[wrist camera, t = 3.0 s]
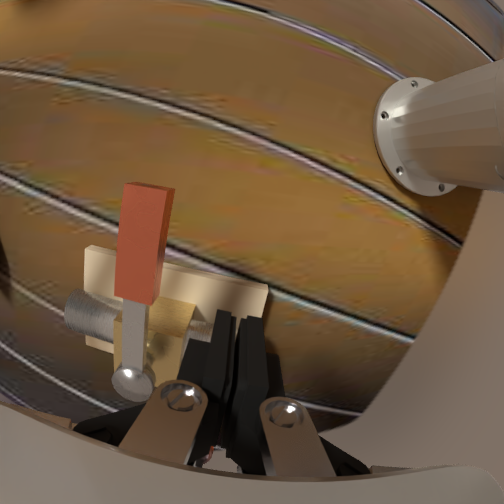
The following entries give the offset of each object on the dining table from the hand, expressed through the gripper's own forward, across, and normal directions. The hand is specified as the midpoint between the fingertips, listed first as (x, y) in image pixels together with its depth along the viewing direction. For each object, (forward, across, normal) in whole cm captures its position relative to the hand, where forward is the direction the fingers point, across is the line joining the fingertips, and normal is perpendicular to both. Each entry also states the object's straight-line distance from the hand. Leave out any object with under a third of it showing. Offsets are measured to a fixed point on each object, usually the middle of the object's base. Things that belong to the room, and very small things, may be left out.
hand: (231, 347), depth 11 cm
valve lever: (+8, +6, +4) cm, 11 cm away
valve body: (+17, +6, +10) cm, 21 cm away
